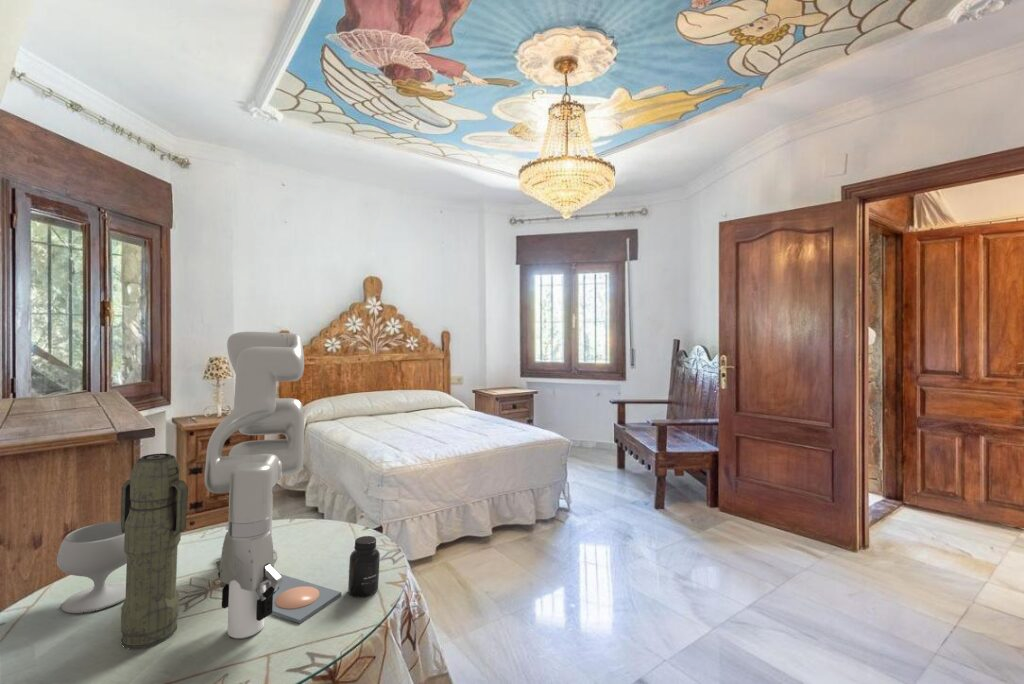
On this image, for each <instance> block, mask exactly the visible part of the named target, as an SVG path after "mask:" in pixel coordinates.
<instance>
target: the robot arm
mask: <svg viewBox="0 0 1024 684" xmlns="http://www.w3.org/2000/svg"><path fill="white" fill-rule="evenodd" d="M303 345H304V344H303V341H302V338H301V336H299V335H298V334H296V333H293V332H291V333H290V332H271V331H270V332H268V331H240V332H239V331H238V332H236V333H232V334H231V335H229V337H228V339H227V343H226V349H227V354H228V359H229V361H230V365H231V367H232V369H233V372H234V373H235V378H234V379H235V380H234V381H235V383H234V398H233V399H234V400H233V410H232V411H231V412H230V413H229V414H228V415H227V416H226V417H225V418H223V420H222V421H220V423H219V424H218V425H217V426H216V427H215V428H214V430H213V432H212V434H211V435H210V437H209V441H208V442H207V448H206V459H205V466H204V467H205V468H204V485H205V488H206V489H207V490H208V492H210V493H212V494H228V493H229V495H228V524H227V527H228V528H227V531H226V533H225V536H224V540H223V544H222V548H221V555H220V559H219V560H217V561H216V562H215V564H216V565H215V566H216V569H217V574H218V575H217V576H218V578H219V580H220V581H221V582H220V583H219V584H220V587H221V588H222V589H221V590H222V591H221V592H222V593H221V608H222V609H226V608H227V609H228V603H229V585H230V582H231V581H233V580H235V581H237V582H238V583H239V584H240V587H241V589H244V590H247V591H253V590H256V592H257V594H258V596H259V600H257V612H256V619H257V620H258V621H260V620H262V619H264V618H266V617H269V616H270V615H272V614H271V613H272V607H273V595H274V594H275V593H276V591H277V590H278V589H279V586H280V584H281V582H282V577H281V576H280V575H279V574H280V573H279V574H278V572H277V570H275V562H276V561H277V560H278V552H277V551H276V550H274V543H273V542H274V541H273V536H272V530H273V528H272V527H273V504H274V501H273V500H274V495H273V494H274V493H273V487H275V485H277V483H278V481H279V480H280V479H281V477H284V476H292V475H297V474H298V473H299V472H301V470H302V469H303V466H304V459H305V458H304V456H305V454H304V453H305V451H304V450H305V410H304V405H303V403H302V402H301V401H300V400H299V399H297V398H291V397H290V398H289V397H287V398H286V397H285V398H284V397H283V398H282V397H281V398H277V382H297V381H300V379H302V376H303V375H304V370H305V353H304V346H303ZM237 431H239V433H240V434H241V435H246V436H266V435H268V436H269V435H284V436H285V438H281V439H280V438H279V439H260V440H259V439H257V440H248V441H243V442H240V443H237V444H235V445H233V447H232V448H231V449H230V450H229V453H228V456H227V455H226V456H222V454H223V447H224V445H225V442H226V441H227V440H228V438H229V437H230V436H232V435H233V434H234V433H236V432H237ZM234 576H235V577H234ZM262 579H263V580H264V581H263V582H261V581H262ZM264 585H266V588H267V590H266V591H265V592H264V591H263V589H262V586H264ZM264 620H265V619H264Z"/></svg>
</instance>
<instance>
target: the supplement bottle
mask: <svg viewBox="0 0 1024 684" xmlns="http://www.w3.org/2000/svg"><path fill="white" fill-rule="evenodd" d="M353 548H354V550H353V551H352V552H351V554H350V555H349V564H348V583H347V591H348V593H349V595H350V596H352V597H354V598H366V597H370V596H372V595H374V594H375V593H376V592H377V591H378V590H379V581H380V580H379V579H380V576H379V575H380V562H381V561H380V560H381V559H380V558H381V554H380V551H379V549H377V538H376V537H374V536H370V535H363V536H359V537H357V538H356V539H355V541H354V547H353Z"/></svg>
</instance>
